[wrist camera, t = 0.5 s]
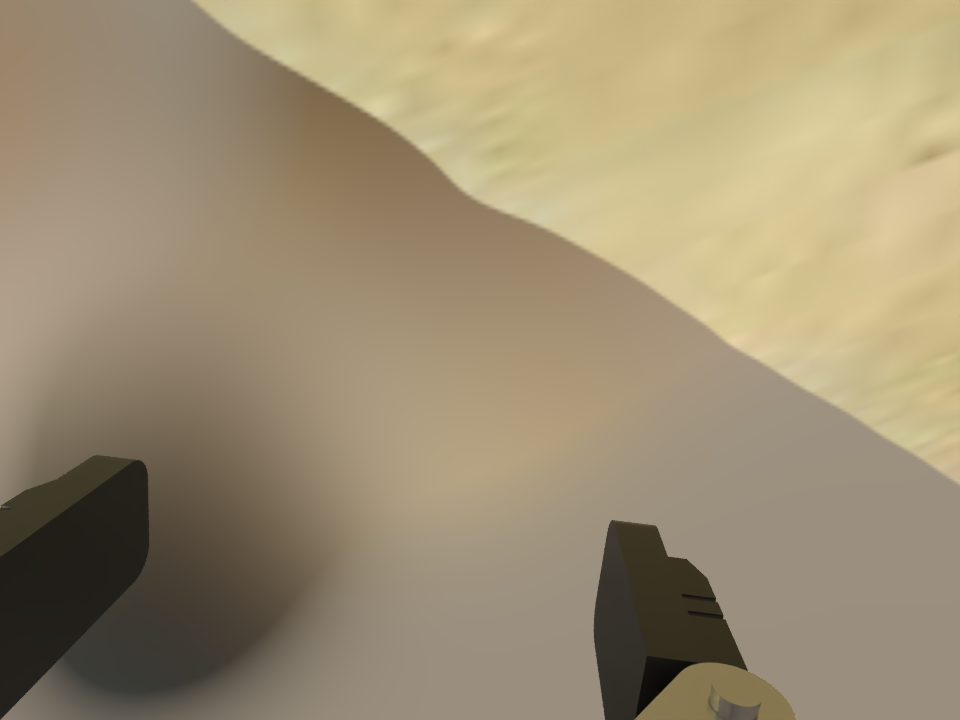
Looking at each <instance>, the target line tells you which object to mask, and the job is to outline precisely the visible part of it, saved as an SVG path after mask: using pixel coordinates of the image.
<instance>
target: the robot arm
mask: <svg viewBox="0 0 960 720" xmlns="http://www.w3.org/2000/svg"><path fill="white" fill-rule="evenodd" d="M148 512H149V511H148V473H147V469H146V466H145V464H144V463H143V462H142V461H140V460H133V459H125V458H117V457H109V456H100V455H96V456H93V457H91V458H89V459H88V460H86V461H85V462H83V463H81V464H80V465H78V466H77V467H75V468H74V469H72V470H70V471H69V472H67V473H66V474H65V475H63V476H61V477H60V478H58V479H56V480H54V481H51V482H48V483H45V484H42V485H39V486H37V487H34V488H31V489H28V490H25V491H24V492H22V493H21V494H19V495H17V496H16V497H14V498H12V499H11V500H9V501H8V502H6V503H4V504H3V505H1V508H0V719H1V718H2V717H3V716H4V715H5V714H6V713H7V712H8V711H9V710H10V709H11V708H12V707H13V706H14V705H15V704H16V703H17V702H18V701H19V700H20V699H21V698H22V697H23V696H24V695H25V693H27V692H28V691H29V690H30V689H31V688H32V687H33V685H35V683H36V682H37V681H38V680H39V679H40V678H41V677H42V676H43V675H44V674H45V673H46V672H47V671H48V670H49V669H50V668H51V667H52V666H53V665H54V664H55V663H56V662H57V661H58V660H59V659H60V658H61V657H62V656H63V655H64V654H65V653H66V652H67V651H68V650H69V648H70V647H71V646H72V645H73V644H74V643H75V642H76V641H77V640H78V639H79V638H80V637H81V636H82V635H83V634H84V633H85V632H86V631H87V630H88V629H89V628H90V627H91V626H92V625H93V624H94V623H95V622H96V621H97V620H98V619H99V618H100V616H102V615H103V614H104V613H105V611H107V610H108V608H109V607H110V606H111V605H112V604H113V603H114V602H115V601H116V600H117V599H118V598H119V597H120V596H121V595H122V594H123V593H124V592H125V591H126V590H127V589H128V588H129V587H130V586H131V585H132V584H133V583H134V582H135V580H136V579H137V578H138V577H139V575H140V573H141V571H142V569H143V567H144V565H145V562H146V558H147V554H148V549H149V514H148ZM594 643H595V650H596V657H597V664H598V672H599V678H600V686H601V693H602V700H603V707H604V715H605V720H796V719H795V714H794V712H793V710H792V707H791V706H790V704H789V703H788V701H787V700H786V699H785V697H784V696H783V695H782V694H781V693H780V692H779V691H778V690H777V689H775V688H774V687H773V686H772V685H771V684H769V683H768V682H766V681H765V680H763V679H762V678H760V677H758V676H756V675H755V674H752V673H750V672H748V670H747V668H746V665H745V663H744V661H743V658H742V656H741V654H740V652H739V650H738V647H737V645H736V643H735V640H734V638H733V636H732V634H731V631H730V629H729V627H728V625H727V622H726V620H724V619H723V613H722V611H721V609H720V606H719V604H718V603H717V602H716V597H715V595H714V593H713V591H712V588H711V586H710V584H709V582H708V579H707V578H706V577H705V576H704V575H703V574H702V573H701V572H700V571H699V570H698V569H697V568H696V567H695V566H693V565H692V564H691V563H690V562H689V561H688V560H687V559H681V558H674V557H668V556H667V553H666V551H665V548H664V545H663V542H662V540H661V537H660V534H659V531H658V529H657V527H656V526H655V525H647V524H639V523H631V522H623V521H615V520H612V521H611V522H610V524H609V528H608V532H607V537H606V544H605V549H604V556H603V562H602V568H601V574H600V580H599V586H598V592H597V598H596V605H595V615H594Z"/></svg>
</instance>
